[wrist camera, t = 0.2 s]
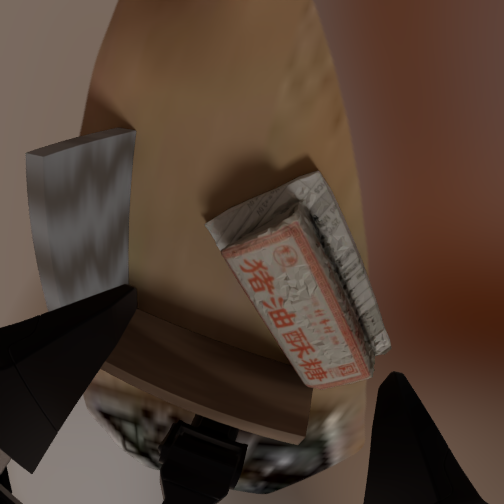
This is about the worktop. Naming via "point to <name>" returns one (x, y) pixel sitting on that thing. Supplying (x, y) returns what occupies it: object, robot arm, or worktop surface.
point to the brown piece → (142, 324)
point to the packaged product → (305, 280)
